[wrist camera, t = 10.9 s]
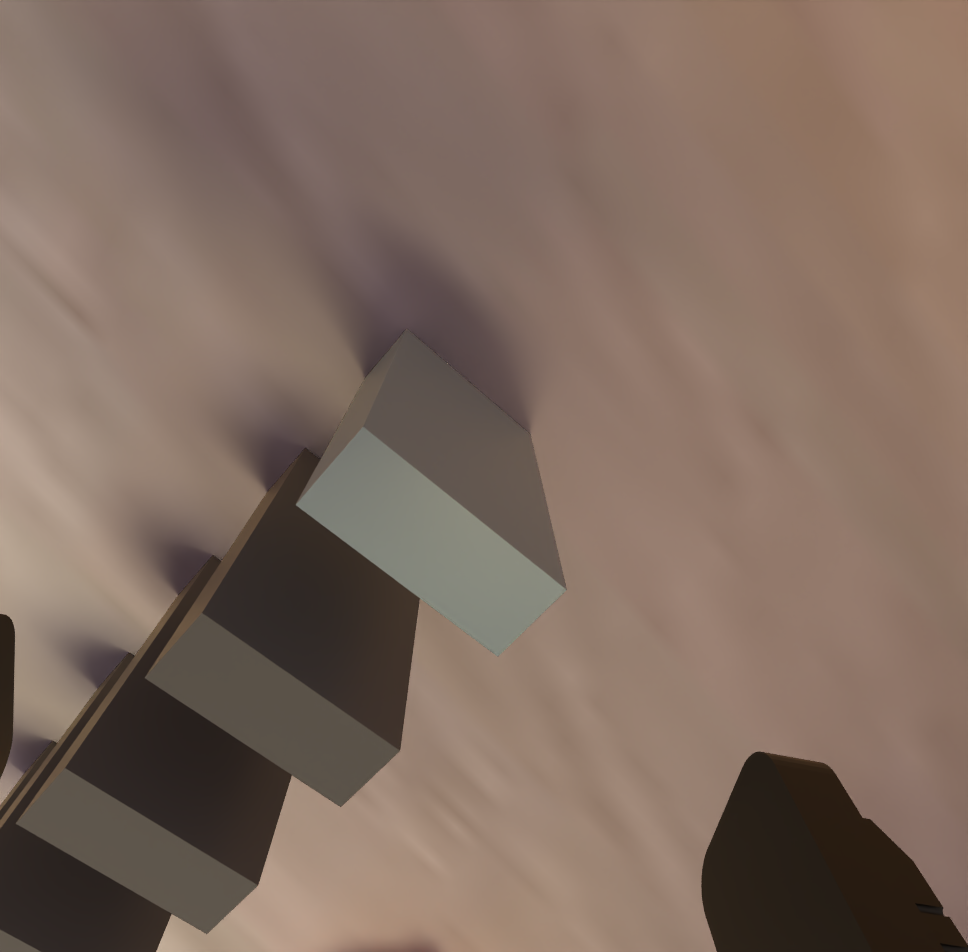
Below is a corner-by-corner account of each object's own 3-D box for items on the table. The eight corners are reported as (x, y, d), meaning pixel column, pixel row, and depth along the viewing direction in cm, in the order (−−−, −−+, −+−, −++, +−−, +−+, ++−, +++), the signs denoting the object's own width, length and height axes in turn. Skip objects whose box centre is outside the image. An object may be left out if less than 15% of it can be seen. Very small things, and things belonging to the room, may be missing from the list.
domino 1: (128, 652, 27) (-53, 901, 18) (247, 731, 28) (134, 1002, 19) (97, 688, 28) (-96, 949, 18) (214, 764, 29) (90, 1044, 20)
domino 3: (305, 448, 25) (201, 612, 15) (426, 544, 26) (400, 750, 16) (266, 492, 25) (144, 678, 16) (387, 584, 26) (340, 807, 17)
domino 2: (212, 555, 26) (64, 768, 17) (332, 641, 27) (258, 885, 18) (178, 595, 26) (15, 823, 17) (297, 678, 28) (206, 933, 18)
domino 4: (406, 328, 23) (363, 426, 14) (530, 434, 25) (566, 589, 15) (364, 378, 24) (295, 505, 14) (488, 479, 25) (497, 656, 16)
